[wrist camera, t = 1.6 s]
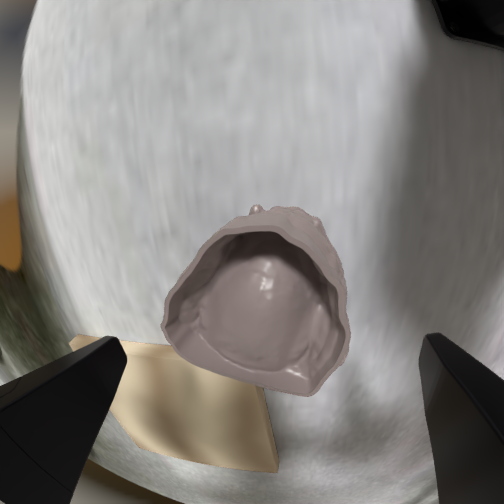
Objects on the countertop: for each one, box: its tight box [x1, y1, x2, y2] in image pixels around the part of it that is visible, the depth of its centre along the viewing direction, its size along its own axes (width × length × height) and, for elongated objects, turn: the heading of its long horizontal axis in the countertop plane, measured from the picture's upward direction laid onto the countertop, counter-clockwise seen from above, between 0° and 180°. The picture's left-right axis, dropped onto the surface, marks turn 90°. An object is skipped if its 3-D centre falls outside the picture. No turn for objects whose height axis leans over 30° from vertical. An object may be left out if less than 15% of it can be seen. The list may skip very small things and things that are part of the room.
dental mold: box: [161, 205, 351, 397], centre depth 11 cm, size 8×7×5 cm
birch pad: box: [69, 334, 279, 473], centre depth 19 cm, size 14×14×1 cm
